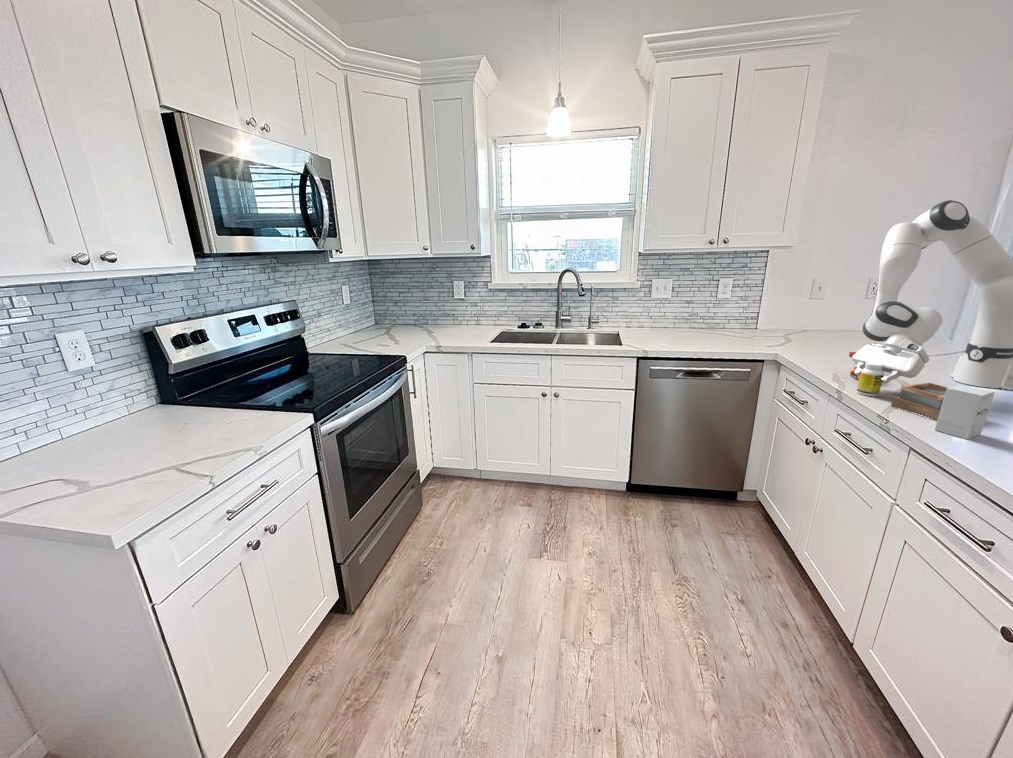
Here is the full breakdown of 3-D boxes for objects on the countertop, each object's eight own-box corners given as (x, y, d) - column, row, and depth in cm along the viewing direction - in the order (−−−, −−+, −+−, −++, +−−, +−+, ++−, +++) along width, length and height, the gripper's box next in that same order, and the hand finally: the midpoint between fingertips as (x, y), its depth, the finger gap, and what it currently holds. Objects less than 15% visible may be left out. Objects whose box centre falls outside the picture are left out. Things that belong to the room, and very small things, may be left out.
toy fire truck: (863, 384, 164) (869, 359, 161) (844, 373, 177) (849, 350, 174) (873, 384, 164) (879, 359, 161) (853, 374, 176) (859, 350, 174)
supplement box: (968, 440, 117) (982, 395, 114) (933, 430, 124) (945, 387, 120) (982, 435, 120) (996, 391, 116) (947, 425, 127) (959, 383, 123)
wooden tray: (922, 402, 144) (928, 381, 142) (970, 416, 132) (977, 394, 130) (891, 406, 142) (896, 385, 140) (936, 421, 130) (943, 398, 128)
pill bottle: (873, 398, 149) (880, 366, 146) (852, 393, 155) (859, 362, 151) (882, 394, 152) (889, 364, 149) (861, 390, 157) (868, 360, 154)
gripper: (865, 336, 159) (838, 364, 160) (928, 349, 140) (896, 380, 141) (872, 347, 162) (845, 375, 162) (935, 361, 142) (904, 392, 143)
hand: (869, 378), depth 152 cm, fingers open, 8 cm apart
